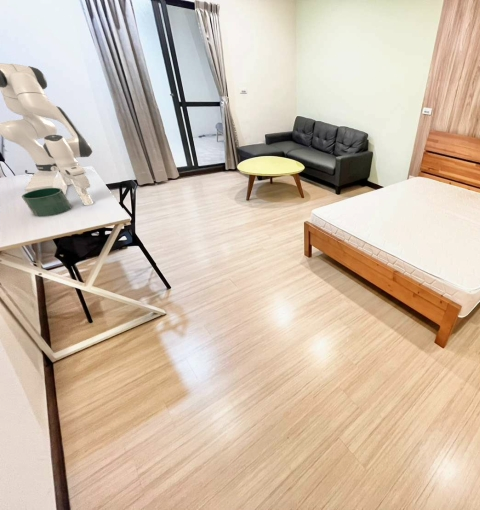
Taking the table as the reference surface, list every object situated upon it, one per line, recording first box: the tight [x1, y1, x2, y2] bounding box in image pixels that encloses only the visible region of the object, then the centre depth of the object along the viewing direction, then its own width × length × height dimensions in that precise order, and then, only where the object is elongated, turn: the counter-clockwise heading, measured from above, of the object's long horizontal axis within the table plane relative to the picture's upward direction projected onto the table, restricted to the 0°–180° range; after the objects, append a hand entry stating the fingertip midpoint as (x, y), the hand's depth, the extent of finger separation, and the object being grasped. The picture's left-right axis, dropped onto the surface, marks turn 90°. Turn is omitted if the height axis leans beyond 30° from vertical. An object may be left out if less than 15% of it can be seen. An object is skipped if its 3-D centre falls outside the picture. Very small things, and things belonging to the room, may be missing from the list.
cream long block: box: [24, 170, 68, 195], centre depth 158 cm, size 32×11×11 cm, turn 36°
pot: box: [21, 188, 72, 218], centre depth 143 cm, size 15×15×10 cm
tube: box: [70, 179, 94, 206], centre depth 150 cm, size 4×4×15 cm
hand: (83, 192), depth 151 cm, fingers closed on tube, 4 cm apart
